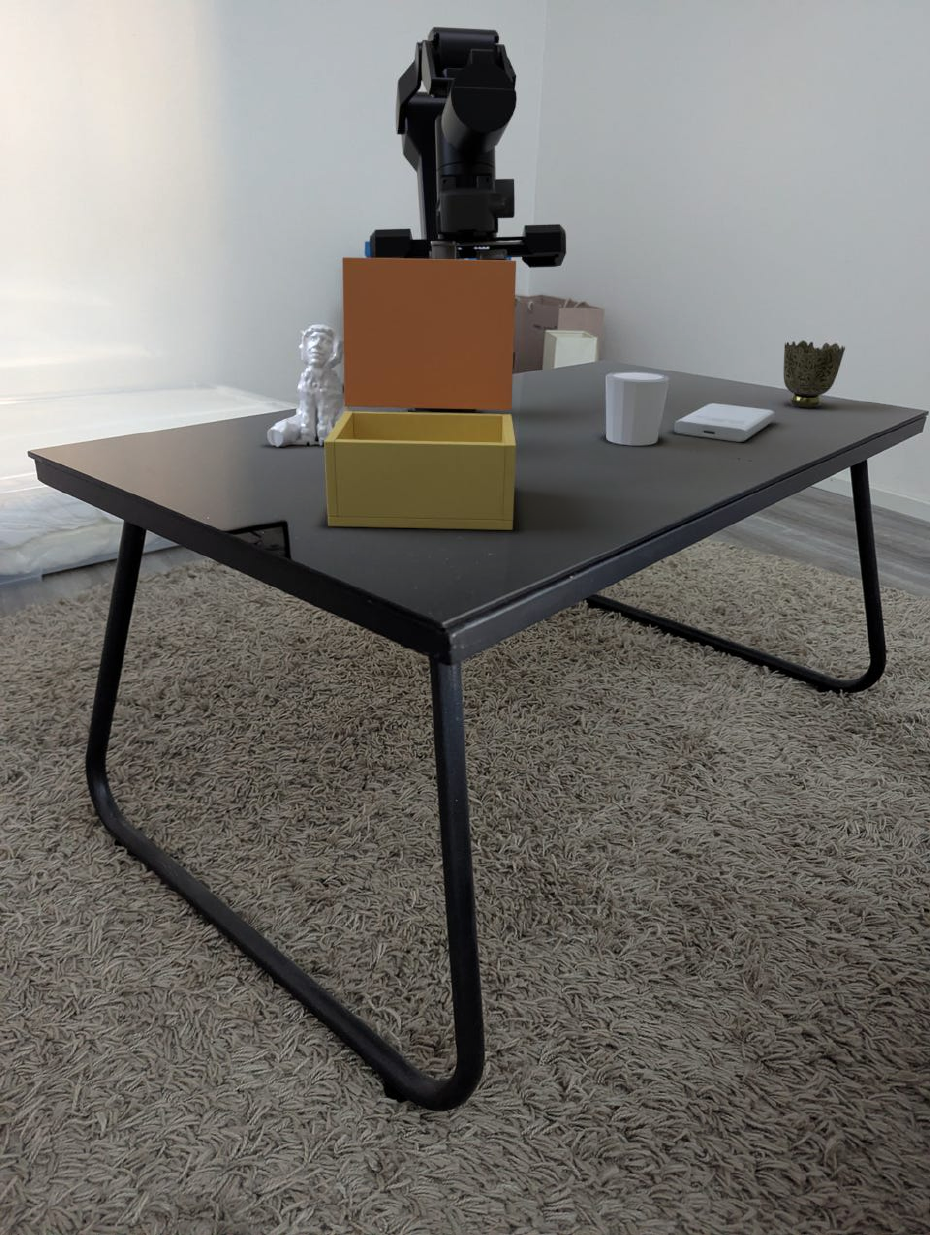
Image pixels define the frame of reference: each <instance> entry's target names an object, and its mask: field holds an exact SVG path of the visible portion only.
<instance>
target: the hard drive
mask: <svg viewBox="0 0 930 1235" xmlns="http://www.w3.org/2000/svg"><path fill="white" fill-rule="evenodd" d="M774 419H775V411H773V410H772V409H766V408H758V407H757V408H756V407H751V406H740V405H734V404H733V405H732V404H725V403H715V402H712V403H708V404H706V405H704V406H703V407H701V408H699V409H697V410H695V411H693V412H691V413H689V414H687V415H685V416H684V417H682V418H680V419H678V420H676V421H674V426H673V432H674V433H676V434H678V435H686V436H691V437H692V436H693V437H701V438H706V439H707V438H708V439H714V440H720V441H721V440H723V441H727V442H728V441H729V442H730V441H731V442H738V443H741V442H744V441H746V440H748V439H749V438H750V437H752V436H754V435H755V434H756V433H758V432H759V431H761V430H762V429H764V428H765V427H767V426H768V425H770V424H772V423H773V422H774Z"/></svg>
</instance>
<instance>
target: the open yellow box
mask: <svg viewBox="0 0 930 1235" xmlns="http://www.w3.org/2000/svg"><path fill="white" fill-rule="evenodd" d="M513 423H514V422H513V417H512V414H511V413H485V412H484V413H483V412H482V413H481V412H480V413H477V412H476V413H475V412H471V413H436V412H408V411H386V410H385V411H384V410H383V411H381V410H380V411H378V410H349V411H345V412H344V413H343V415H342V416H341V418H340V419H339V421H338V422H337V424H336V425H335V427H334V428H333V429H332V431H331V432H330V434H329V435H328V437H327V438H326V440H325V441H324V444H323V447H324V448H323V449H324V465H325V467H324V468H325V488H326V506H327V508H326V509H327V525H328V527H350V528H353V527H354V528H355V527H356V528H362V527H363V528H396V529H397V528H400V529H405V528H406V529H407V528H408V529H444V530H445V529H447V530H496V531H497V530H498V531H512V530H513V529H514V528H513V527H514V521H513V520H514V508H515V507H514V504H515V483H516V482H515V480H516V458H517V457H516V455H517V443H516V436H515V430H514V424H513Z"/></svg>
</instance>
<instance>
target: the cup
mask: <svg viewBox="0 0 930 1235" xmlns="http://www.w3.org/2000/svg"><path fill="white" fill-rule="evenodd" d="M845 351H846V346H844V345H841V347H840V346H839V345H838V343H837V342H834V343H833V344H831V345H830V344H829V342H825V343H824V344H823V345H822V347H815V346H814V342H813V341H810V342H809V343H807V341H806V340H804V339H803V340H800V341H799V342H798V344H796V342H795V341H794V340H793V341H792V342H791V344H790V342H788V341H787V342H784V350H783V383H784V385H785V387H786V389H787V390H788V391H789V392H790V393H792V395H791V397H790V403H791V404H792V405H793V406H795V407H796V408H804V409H806V408H807V409H813V408H816V407H818V406H819V404H820V402H821V397H820V396H822V395H824V394H826V393H827V392H828V391H830V389H831V388H832V387H833V385H834V383H835V381H836V378H837V376H838V373H839V369H840V367H841V363H842V360H843V356H844V353H845Z"/></svg>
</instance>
